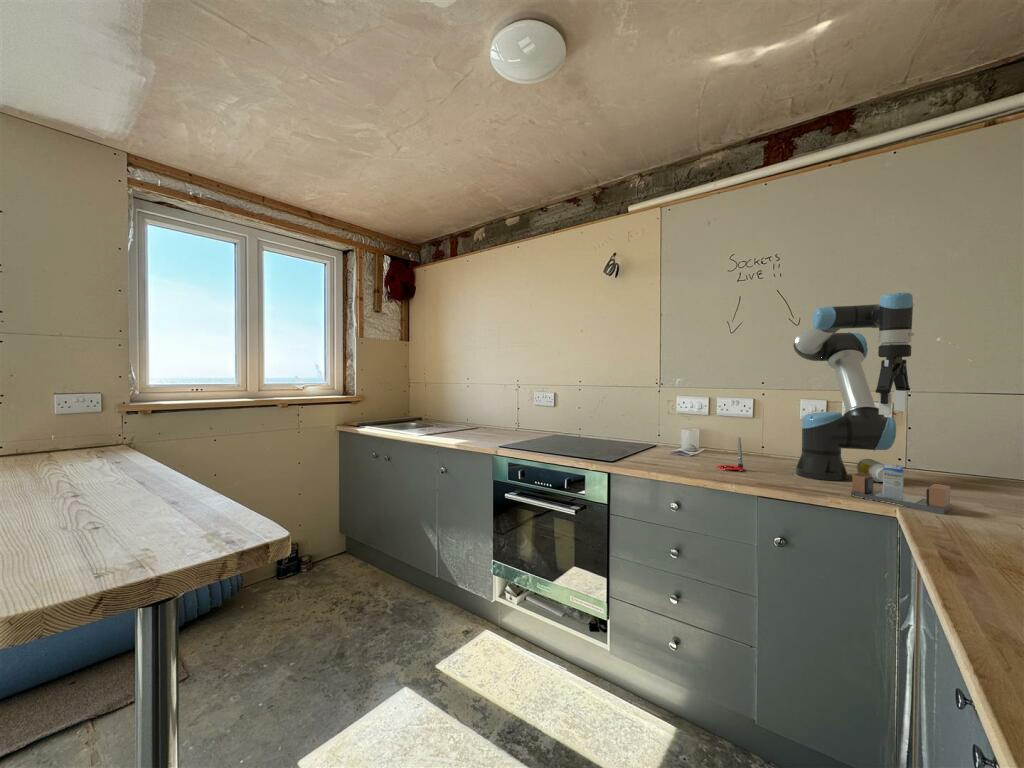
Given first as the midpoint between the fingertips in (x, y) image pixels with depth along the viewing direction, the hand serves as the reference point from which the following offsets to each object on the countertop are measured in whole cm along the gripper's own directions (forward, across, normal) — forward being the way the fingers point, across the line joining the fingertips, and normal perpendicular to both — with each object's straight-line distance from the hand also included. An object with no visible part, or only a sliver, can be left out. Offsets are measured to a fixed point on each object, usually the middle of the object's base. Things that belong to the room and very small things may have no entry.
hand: (892, 412), depth 131 cm
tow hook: (+26, -9, +46) cm, 54 cm away
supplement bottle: (+23, +21, +12) cm, 33 cm away
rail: (+25, -11, -5) cm, 28 cm away
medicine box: (+23, -11, -4) cm, 26 cm away
